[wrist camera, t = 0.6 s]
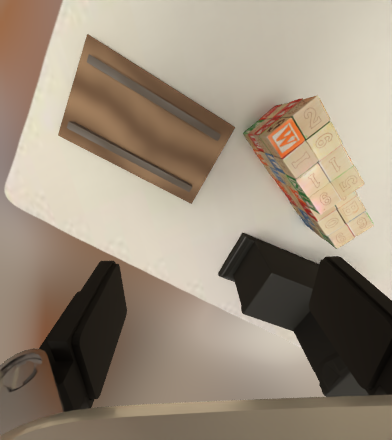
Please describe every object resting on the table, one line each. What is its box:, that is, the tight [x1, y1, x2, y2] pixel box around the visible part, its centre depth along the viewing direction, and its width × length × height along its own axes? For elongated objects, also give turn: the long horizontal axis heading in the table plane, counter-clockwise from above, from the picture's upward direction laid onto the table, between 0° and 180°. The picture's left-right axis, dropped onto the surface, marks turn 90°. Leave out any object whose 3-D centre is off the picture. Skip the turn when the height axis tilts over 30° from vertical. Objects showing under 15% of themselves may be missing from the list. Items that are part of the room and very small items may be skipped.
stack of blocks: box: [243, 96, 374, 249], centre depth 32 cm, size 21×6×12 cm, turn 40°
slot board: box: [58, 34, 235, 204], centre depth 33 cm, size 14×23×2 cm, turn 61°
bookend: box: [218, 233, 369, 397], centre depth 35 cm, size 23×11×24 cm, turn 65°
